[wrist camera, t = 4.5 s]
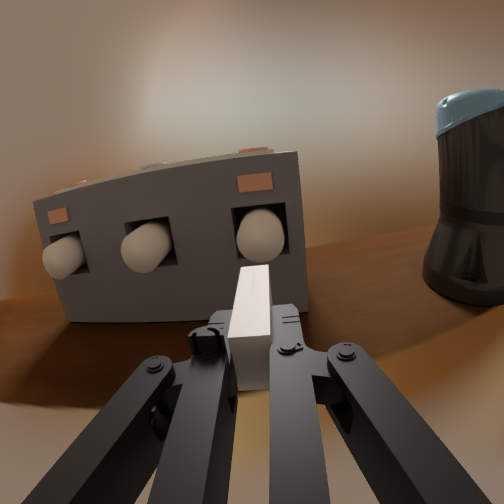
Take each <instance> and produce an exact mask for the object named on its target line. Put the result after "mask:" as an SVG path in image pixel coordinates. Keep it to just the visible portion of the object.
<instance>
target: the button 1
mask: <svg viewBox="0 0 504 504" xmlns="http://www.w3.org/2000/svg"><path fill="white" fill-rule="evenodd" d="M86 262H87V260H86V256H85V253H84V249H83V245H82V241H81V237H80V233H79V231H75V232H73V233H71V234H69V235H67V236H65V237H64V238H62V239H60V240H58V241H56V242H54V243H53V244H51V245H49V246H47V247H46V248H45V249H44V252H43V264H44V266H45V269H46V271H47V272H48V273H49V274H50V276H52V277H53V278H55V279H57V280H62V279H64V278H66V277H67V276H68V275H70V274H71V273H72V272H74V271H75V270H76V269H78V268H79V267H80V266H82V265H83V264H85V263H86Z"/></svg>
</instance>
